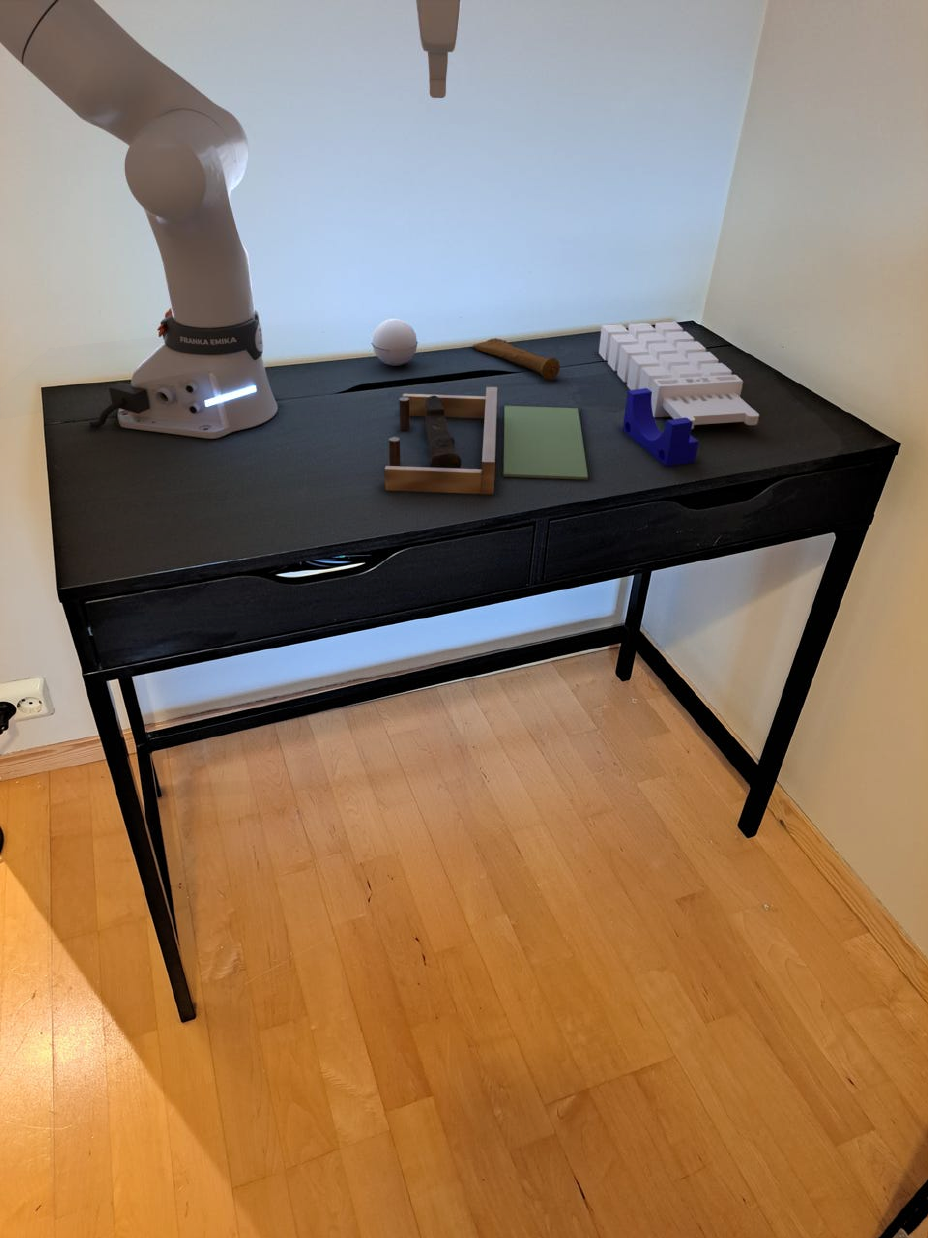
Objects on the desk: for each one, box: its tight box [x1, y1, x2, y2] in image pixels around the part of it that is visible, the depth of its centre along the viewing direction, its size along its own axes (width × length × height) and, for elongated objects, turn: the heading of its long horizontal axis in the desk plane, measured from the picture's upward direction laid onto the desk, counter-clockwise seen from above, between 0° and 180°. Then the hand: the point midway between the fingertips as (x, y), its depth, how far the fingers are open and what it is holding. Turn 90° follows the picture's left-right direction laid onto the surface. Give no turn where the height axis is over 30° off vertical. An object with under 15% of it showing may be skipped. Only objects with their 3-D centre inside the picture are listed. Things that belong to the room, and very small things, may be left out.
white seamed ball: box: [371, 318, 420, 367], centre depth 145 cm, size 10×7×7 cm
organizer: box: [598, 321, 760, 430], centre depth 140 cm, size 13×5×35 cm
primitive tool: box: [472, 337, 561, 381], centre depth 149 cm, size 19×6×4 cm, turn 37°
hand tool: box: [425, 394, 462, 469], centre depth 122 cm, size 19×4×5 cm, turn 5°
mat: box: [502, 405, 589, 481], centre depth 126 cm, size 11×22×1 cm, turn 178°
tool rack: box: [384, 386, 498, 495], centre depth 122 cm, size 14×24×4 cm, turn 178°
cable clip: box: [622, 388, 699, 467], centre depth 124 cm, size 12×4×6 cm, turn 21°
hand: (437, 91), depth 105 cm, fingers open, 8 cm apart
